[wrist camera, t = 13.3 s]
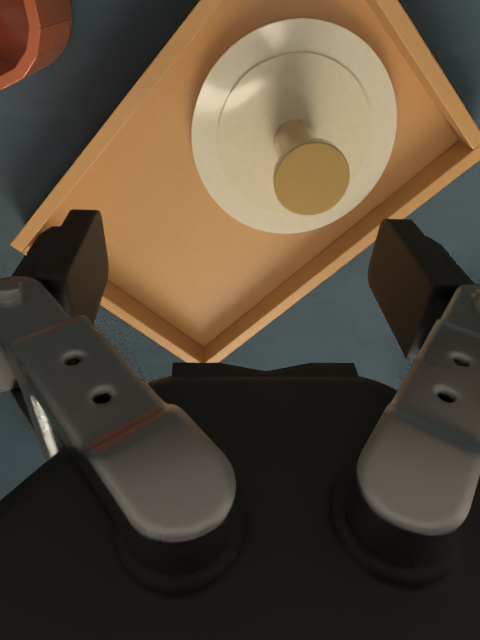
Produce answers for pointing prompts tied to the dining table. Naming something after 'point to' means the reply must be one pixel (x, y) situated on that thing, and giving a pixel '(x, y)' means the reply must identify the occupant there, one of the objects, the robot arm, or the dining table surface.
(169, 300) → the serving tray
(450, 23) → the dining table surface
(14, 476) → the dining table surface
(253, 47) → the round base post stand
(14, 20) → the terracotta cup
